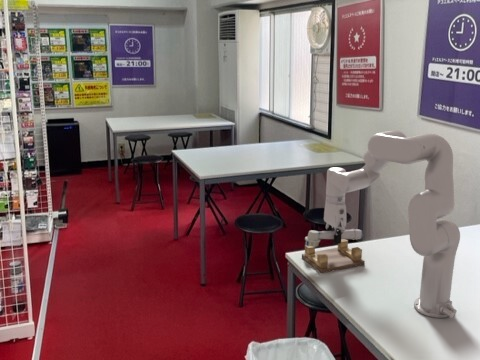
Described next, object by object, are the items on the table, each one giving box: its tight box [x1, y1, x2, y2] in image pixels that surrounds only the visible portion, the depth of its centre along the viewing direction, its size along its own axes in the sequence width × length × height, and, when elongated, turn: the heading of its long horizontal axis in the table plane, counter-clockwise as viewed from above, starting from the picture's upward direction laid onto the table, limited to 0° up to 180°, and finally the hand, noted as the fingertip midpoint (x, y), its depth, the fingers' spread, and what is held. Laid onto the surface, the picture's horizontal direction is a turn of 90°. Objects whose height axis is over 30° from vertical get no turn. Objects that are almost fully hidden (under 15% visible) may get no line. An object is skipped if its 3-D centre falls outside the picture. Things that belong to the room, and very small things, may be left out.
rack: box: [301, 239, 366, 274], centre depth 209 cm, size 16×20×6 cm
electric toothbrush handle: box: [304, 228, 364, 248], centre depth 207 cm, size 5×7×25 cm
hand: (333, 240), depth 207 cm, fingers closed on electric toothbrush handle, 5 cm apart
